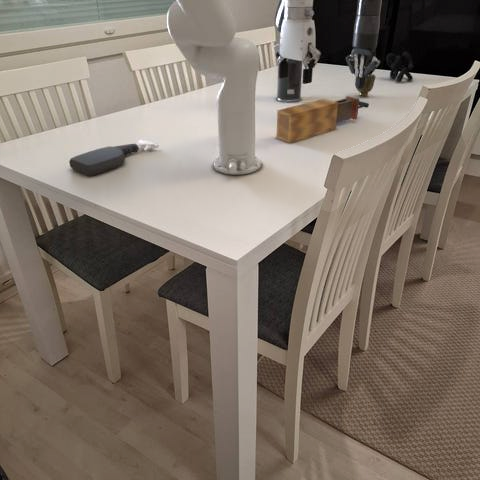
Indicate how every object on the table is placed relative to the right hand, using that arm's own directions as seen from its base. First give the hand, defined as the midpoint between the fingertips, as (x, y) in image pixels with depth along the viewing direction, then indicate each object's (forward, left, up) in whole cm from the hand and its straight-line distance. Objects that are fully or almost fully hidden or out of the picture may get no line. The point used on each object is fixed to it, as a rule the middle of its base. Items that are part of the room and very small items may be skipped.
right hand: (359, 88), depth 148 cm
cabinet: (+14, -19, -10) cm, 26 cm away
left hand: (+18, -24, +7) cm, 31 cm away
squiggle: (-54, +35, -10) cm, 65 cm away
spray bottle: (+31, -76, -10) cm, 82 cm away
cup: (-29, +11, -10) cm, 32 cm away
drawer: (+5, -7, -9) cm, 13 cm away
